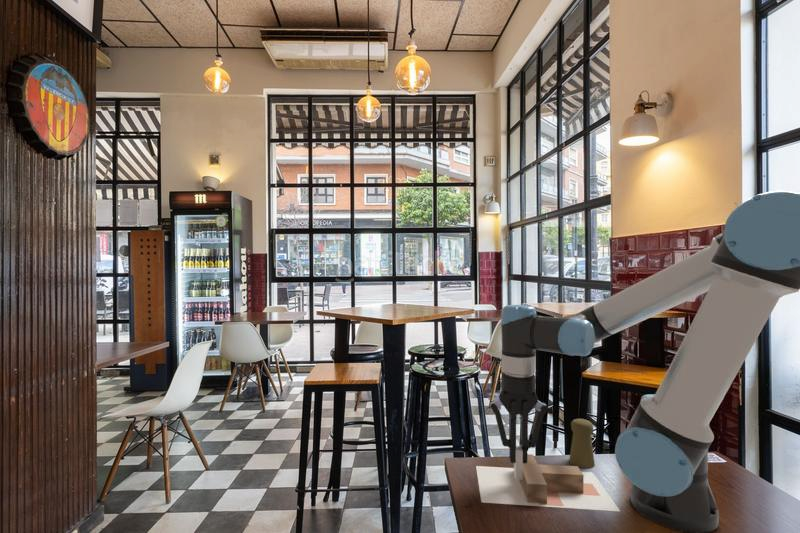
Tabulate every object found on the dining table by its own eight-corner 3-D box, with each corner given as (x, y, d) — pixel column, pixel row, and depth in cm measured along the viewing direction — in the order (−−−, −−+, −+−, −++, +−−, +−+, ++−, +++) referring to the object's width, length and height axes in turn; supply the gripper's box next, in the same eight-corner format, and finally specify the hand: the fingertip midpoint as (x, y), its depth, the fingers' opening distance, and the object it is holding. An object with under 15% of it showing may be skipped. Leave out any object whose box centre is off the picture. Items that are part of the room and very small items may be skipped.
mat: (592, 473, 101) (592, 472, 101) (620, 512, 85) (620, 511, 85) (475, 466, 104) (475, 465, 104) (481, 503, 88) (481, 502, 88)
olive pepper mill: (597, 470, 102) (598, 425, 102) (571, 467, 103) (571, 423, 103) (591, 459, 108) (591, 417, 108) (567, 456, 109) (567, 415, 109)
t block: (570, 472, 100) (570, 456, 100) (591, 506, 86) (591, 487, 86) (515, 470, 102) (516, 453, 102) (527, 502, 88) (527, 483, 88)
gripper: (543, 369, 98) (543, 469, 98) (487, 368, 99) (487, 467, 99) (552, 378, 90) (551, 486, 90) (491, 376, 92) (491, 483, 92)
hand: (518, 476), depth 95 cm, fingers closed
